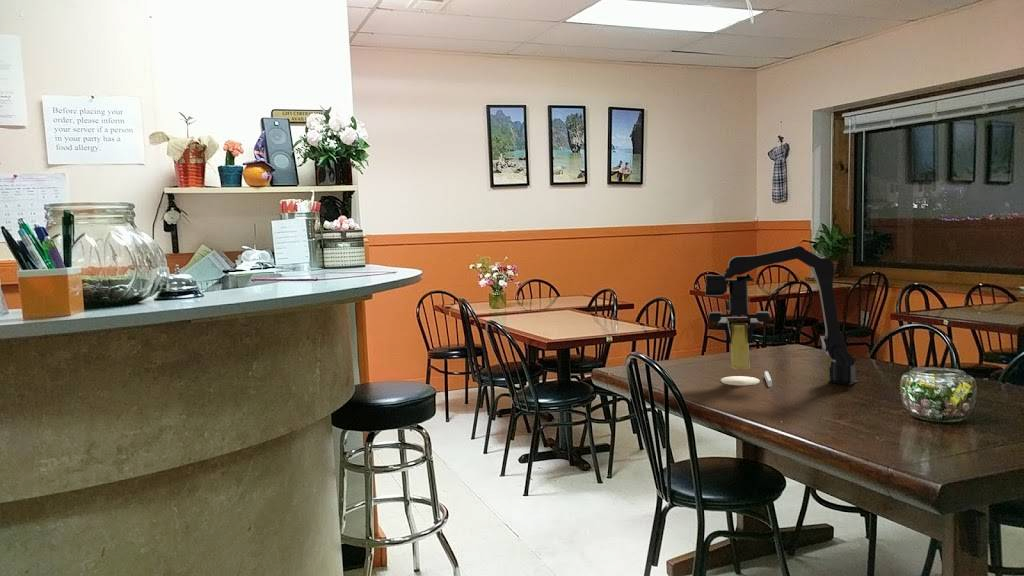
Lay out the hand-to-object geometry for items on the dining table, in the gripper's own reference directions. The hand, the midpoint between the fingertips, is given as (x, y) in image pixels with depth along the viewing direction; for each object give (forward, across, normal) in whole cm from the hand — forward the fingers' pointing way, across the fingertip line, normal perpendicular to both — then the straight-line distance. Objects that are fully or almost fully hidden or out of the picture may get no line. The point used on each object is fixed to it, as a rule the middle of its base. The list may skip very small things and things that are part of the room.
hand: (739, 343), depth 225 cm
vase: (+8, 0, 0) cm, 8 cm away
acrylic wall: (+13, -8, -1) cm, 15 cm away
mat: (+13, 0, 0) cm, 13 cm away
